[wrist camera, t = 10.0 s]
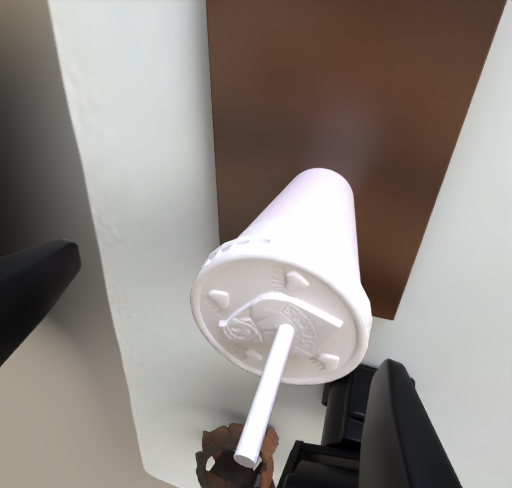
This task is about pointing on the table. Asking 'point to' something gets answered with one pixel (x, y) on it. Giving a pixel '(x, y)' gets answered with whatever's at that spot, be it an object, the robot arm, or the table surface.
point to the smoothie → (287, 296)
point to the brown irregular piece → (226, 468)
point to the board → (345, 112)
